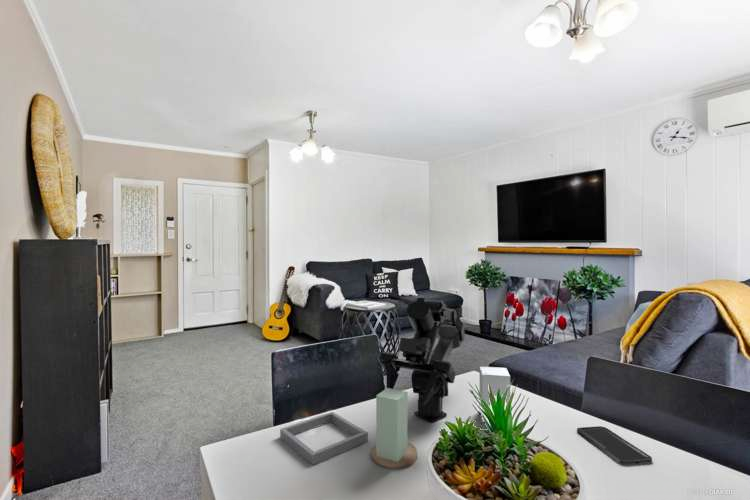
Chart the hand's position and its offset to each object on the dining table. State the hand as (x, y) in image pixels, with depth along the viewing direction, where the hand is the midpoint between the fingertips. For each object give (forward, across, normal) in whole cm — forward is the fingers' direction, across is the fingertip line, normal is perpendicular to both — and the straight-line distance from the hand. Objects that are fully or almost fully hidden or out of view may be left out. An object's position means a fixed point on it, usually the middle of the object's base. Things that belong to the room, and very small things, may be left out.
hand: (405, 399), depth 88 cm
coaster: (+11, 0, +3) cm, 12 cm away
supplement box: (-9, +15, +24) cm, 30 cm away
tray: (+13, -18, +1) cm, 22 cm away
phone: (-8, +42, +24) cm, 49 cm away
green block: (+12, 0, +1) cm, 12 cm away
